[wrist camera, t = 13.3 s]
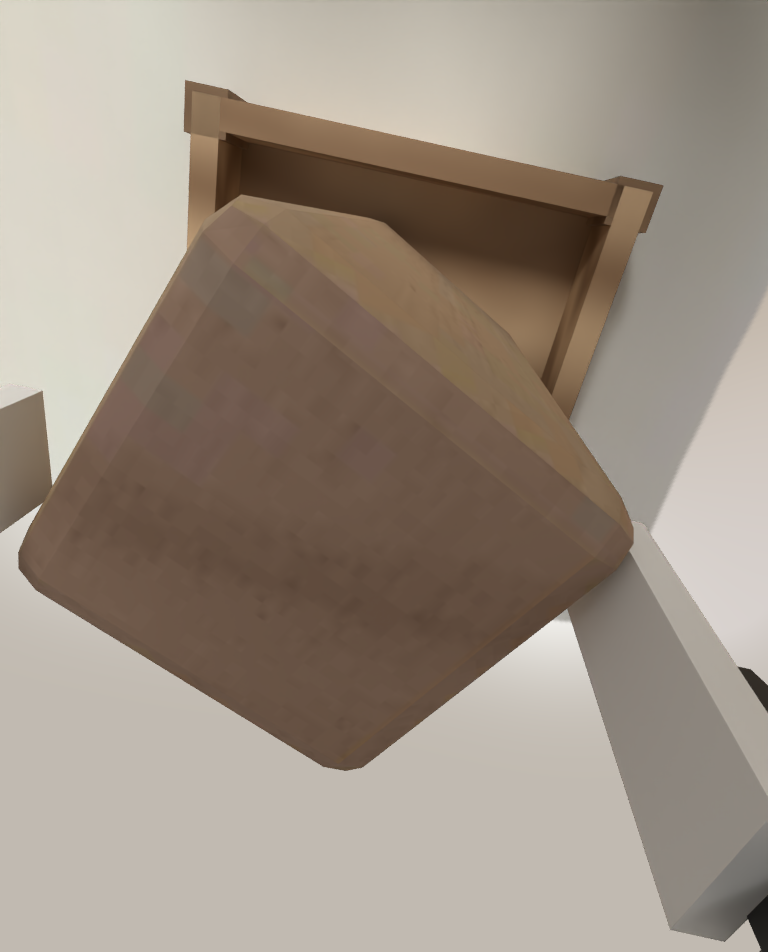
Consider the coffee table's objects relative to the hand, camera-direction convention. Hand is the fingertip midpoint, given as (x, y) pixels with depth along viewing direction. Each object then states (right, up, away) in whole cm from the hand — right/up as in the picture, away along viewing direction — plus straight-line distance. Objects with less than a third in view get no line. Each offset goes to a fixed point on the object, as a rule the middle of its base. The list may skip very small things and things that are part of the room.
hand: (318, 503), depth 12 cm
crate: (+2, +8, +17) cm, 19 cm away
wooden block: (+2, +7, +16) cm, 18 cm away
